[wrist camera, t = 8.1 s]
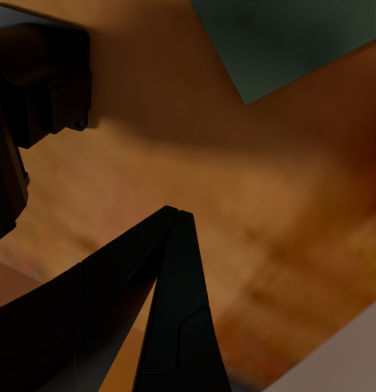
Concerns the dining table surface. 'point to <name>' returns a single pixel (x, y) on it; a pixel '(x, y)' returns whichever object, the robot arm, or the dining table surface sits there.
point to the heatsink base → (282, 37)
